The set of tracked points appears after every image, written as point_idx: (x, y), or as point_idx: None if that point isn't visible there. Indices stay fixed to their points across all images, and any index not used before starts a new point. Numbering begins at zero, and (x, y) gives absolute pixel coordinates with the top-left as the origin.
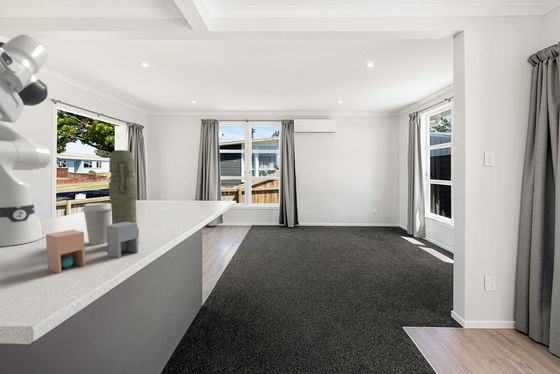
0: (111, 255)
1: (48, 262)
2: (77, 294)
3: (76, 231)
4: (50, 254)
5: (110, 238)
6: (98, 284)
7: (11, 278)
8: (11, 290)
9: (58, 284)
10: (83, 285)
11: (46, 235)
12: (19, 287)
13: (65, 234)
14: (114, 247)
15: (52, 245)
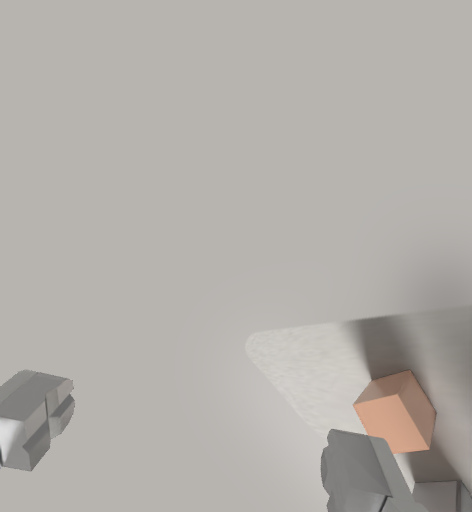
0: (444, 482)
1: (404, 374)
2: (281, 384)
3: (396, 447)
4: (390, 383)
5: (443, 510)
6: (297, 408)
7: (385, 323)
8: (329, 329)
9: (321, 373)
10: (303, 395)
11: (395, 393)
12: (335, 336)
13: (371, 422)
14: (428, 496)
15: (376, 392)
